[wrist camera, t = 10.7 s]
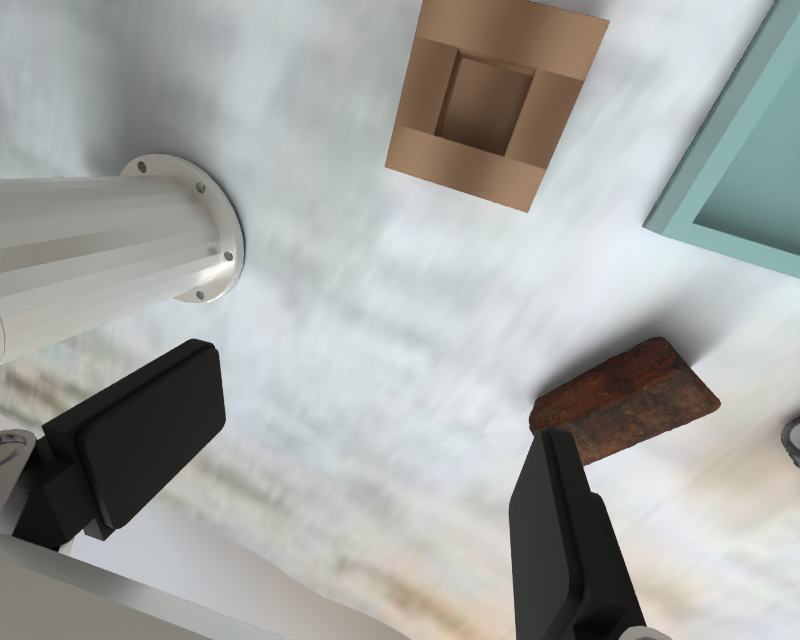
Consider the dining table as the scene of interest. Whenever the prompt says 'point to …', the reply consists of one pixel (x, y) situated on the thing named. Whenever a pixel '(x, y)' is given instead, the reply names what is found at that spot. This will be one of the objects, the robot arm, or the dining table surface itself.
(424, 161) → the wooden square frame
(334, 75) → the dining table surface
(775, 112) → the tray
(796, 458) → the toy excavator
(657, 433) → the brick
